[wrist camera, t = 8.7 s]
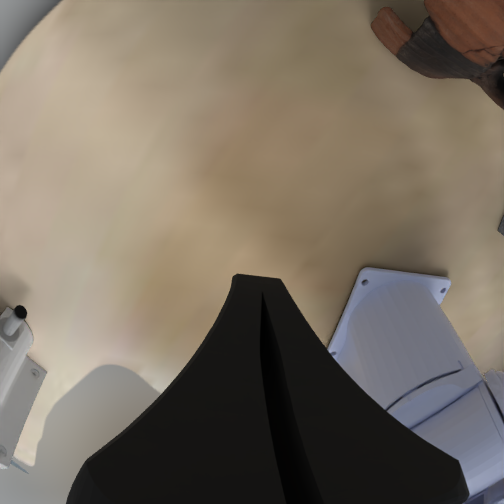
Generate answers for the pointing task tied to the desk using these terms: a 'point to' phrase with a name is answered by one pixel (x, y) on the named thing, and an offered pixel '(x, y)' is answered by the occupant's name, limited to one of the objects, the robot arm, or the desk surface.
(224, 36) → the desk surface
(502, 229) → the tan l-shaped slab
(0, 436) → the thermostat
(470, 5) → the pottery mug
